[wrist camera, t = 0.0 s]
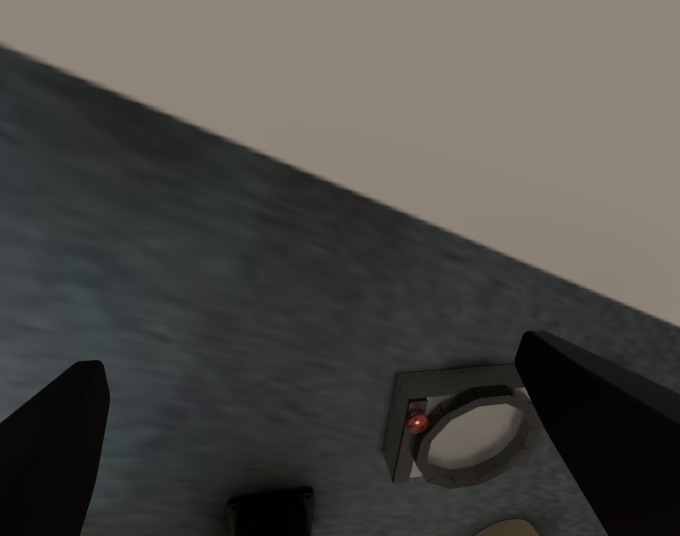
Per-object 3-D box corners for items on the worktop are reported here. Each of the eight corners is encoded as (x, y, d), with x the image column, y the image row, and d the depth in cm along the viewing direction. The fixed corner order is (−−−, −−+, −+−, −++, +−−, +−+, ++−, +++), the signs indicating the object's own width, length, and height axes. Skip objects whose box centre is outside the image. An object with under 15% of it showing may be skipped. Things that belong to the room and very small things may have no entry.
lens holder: (507, 440, 37) (530, 476, 34) (380, 457, 35) (394, 497, 32) (538, 356, 33) (568, 389, 30) (396, 368, 30) (414, 405, 27)
